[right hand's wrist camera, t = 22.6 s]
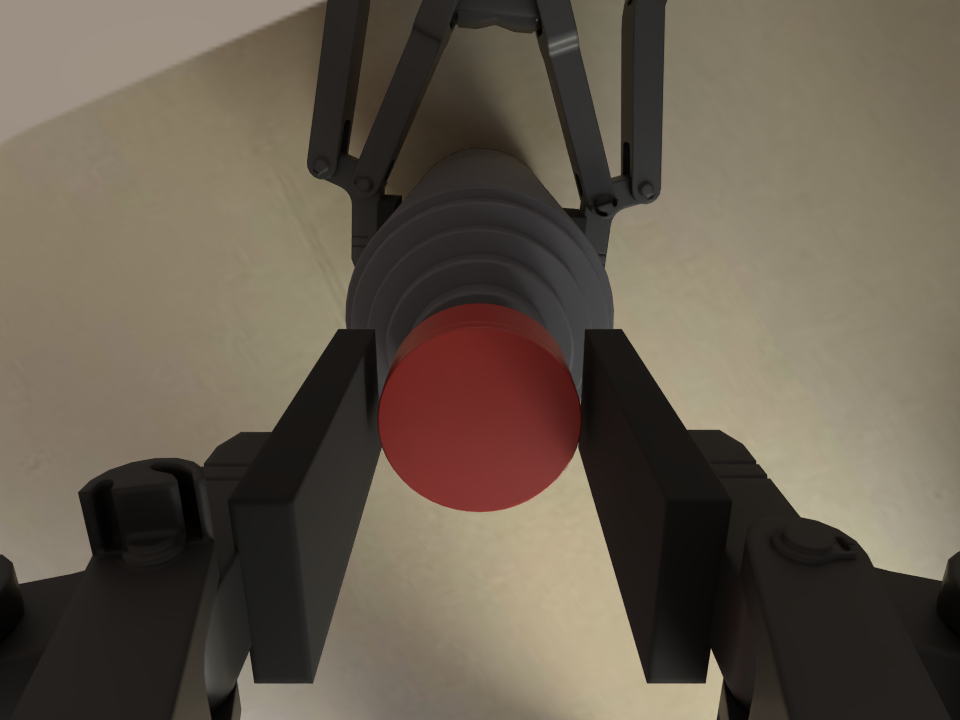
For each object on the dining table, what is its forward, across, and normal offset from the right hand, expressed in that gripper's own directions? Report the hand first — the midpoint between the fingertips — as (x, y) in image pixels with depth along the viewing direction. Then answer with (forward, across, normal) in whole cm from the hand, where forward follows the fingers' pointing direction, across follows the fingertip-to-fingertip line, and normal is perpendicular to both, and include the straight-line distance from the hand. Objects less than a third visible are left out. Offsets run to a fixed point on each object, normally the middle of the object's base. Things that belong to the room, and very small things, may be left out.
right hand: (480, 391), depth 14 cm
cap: (-1, 0, 0) cm, 1 cm away
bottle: (+23, 0, 0) cm, 23 cm away
